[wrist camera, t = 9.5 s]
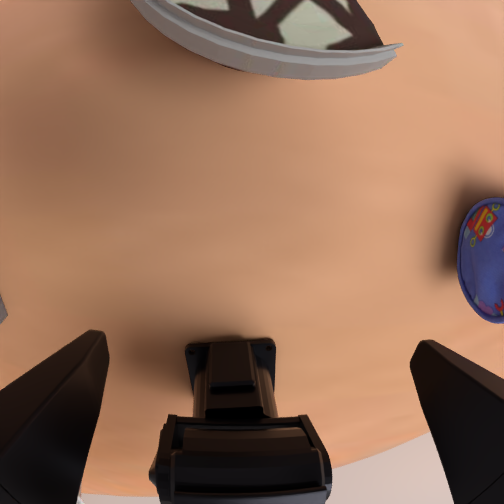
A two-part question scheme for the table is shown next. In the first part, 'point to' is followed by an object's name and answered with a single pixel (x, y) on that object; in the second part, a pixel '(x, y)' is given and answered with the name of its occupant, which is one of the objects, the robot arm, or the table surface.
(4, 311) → the tray
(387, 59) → the food container
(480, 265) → the pencil case
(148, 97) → the table surface
